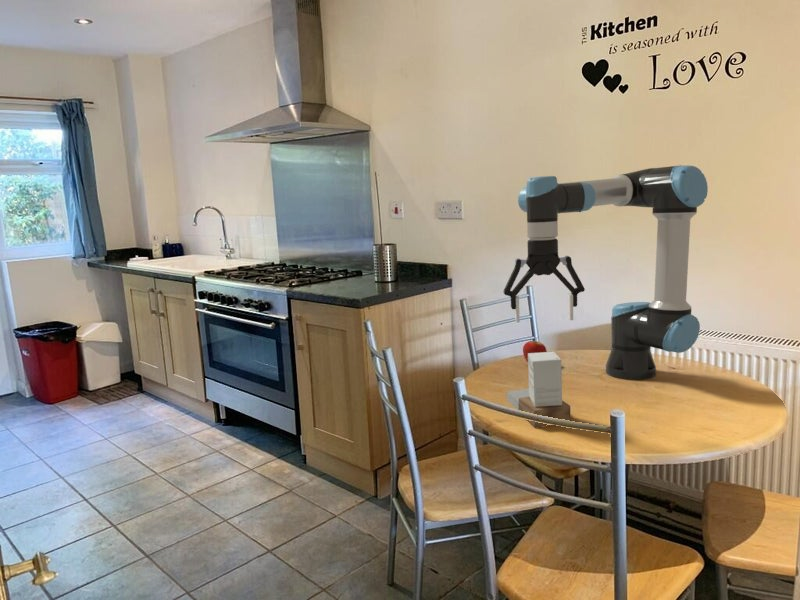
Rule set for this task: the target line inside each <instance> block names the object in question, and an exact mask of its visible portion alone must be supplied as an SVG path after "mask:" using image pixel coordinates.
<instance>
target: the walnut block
mask: <svg viewBox="0 0 800 600" xmlns="http://www.w3.org/2000/svg"><path fill="white" fill-rule="evenodd" d="M519 410H521V411H525V412H529V413H533V414H537V415H542V416H548V417H553V418H558V419H565V420H571V405H570V404H568V403H567V402H565V401H564V400H562V405H558V406H542V407H535V406H534V405H533V403H532V401H531V399H530V397H524V398H519ZM519 410H518V411H519ZM525 421H526V422H527V421H528V422H529V423H530V424H529V423H528V422H527V423H528V424H529V425H530V426H532V428H534V429H538V428H537V427H539V428H543V427H542V426H546V425H547V424H543V423H538V422H535V421H529V420H525ZM546 427H551V426H550V425H547V426H546Z"/></svg>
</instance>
